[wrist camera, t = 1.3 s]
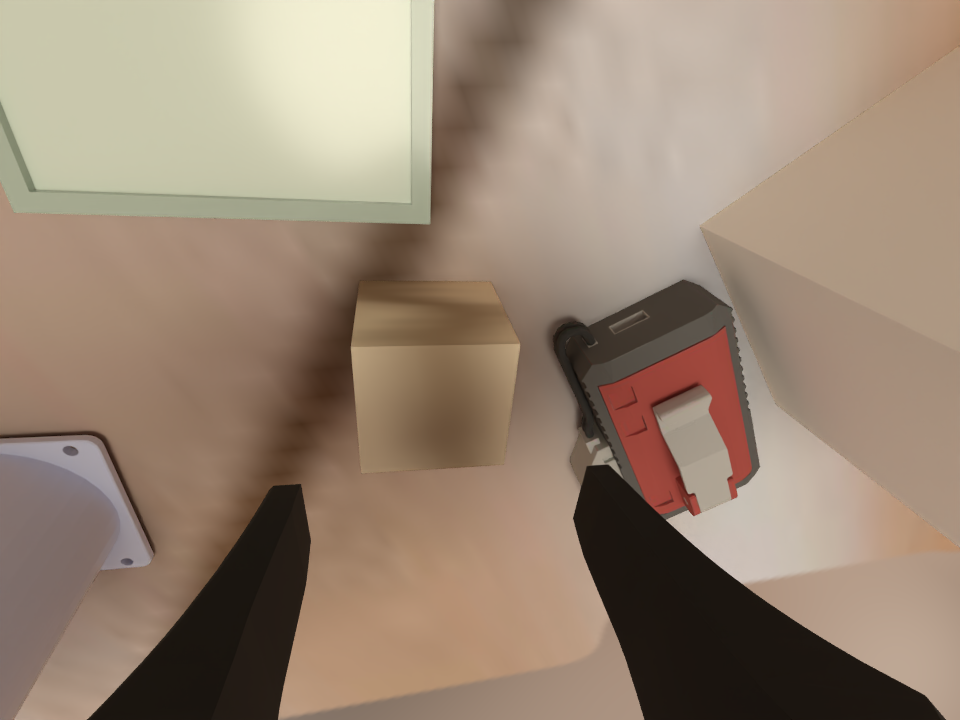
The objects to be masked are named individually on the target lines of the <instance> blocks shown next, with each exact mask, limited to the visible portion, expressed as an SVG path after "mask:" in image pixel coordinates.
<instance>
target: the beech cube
mask: <svg viewBox="0 0 960 720" xmlns="http://www.w3.org/2000/svg"><path fill="white" fill-rule="evenodd" d="M519 351H520V342H519V340H518V338H517V336H516V334H515V331H514V329H513V327H512V325H511V323H510V321H509V319H508V317H507V315H506V312H505V310H504V308H503V306H502V304H501V302H500V300H499V298H498V296H497V294H496V291H495V289H494V287H493V285H492V283H491V282H461V281H360V282H359V289H358V297H357V304H356V312H355V319H354V327H353V334H352V342H351V355H352V368H353V380H354V393H355V405H356V418H357V430H358V443H359V455H360V468H361V474H367V473H382V472H397V471H413V470H428V469H444V468H459V467H475V466H490V465H504V460H505V453H506V446H507V438H508V431H509V424H510V417H511V409H512V402H513V395H514V388H515V380H516V373H517V366H518V358H519Z"/></svg>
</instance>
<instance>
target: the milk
mask: <svg viewBox="0 0 960 720" xmlns="http://www.w3.org/2000/svg"><path fill="white" fill-rule="evenodd" d="M700 228H701V231H702V233H703V235H704V238H705V240H706V242H707V245H708V247H709V249H710V252H711V254H712V256H713V259H714V261H715V263H716V266H717V268H718V270H719V273H720V275H721V277H722V280H723V282H724V284H725V287H726V289H727V291H728V294H729V296H730V298H731V301H732V303H733V305H734V308H735V310H736V313H737V315H738V317H739V320H740V322H741V324H742V327H743V329H744V331H745V334H746V336H747V338H748V341H749V343H750V345H751V348H752V350H753V352H754V355H755V357H756V359H757V362H758V364H759V366H760V369H761V371H762V373H763V376H764V378H765V380H766V383H767V385H768V387H769V390H770V392H771V394H772V397H773V399H774V401H775V404H776V405H777V406H778V407H780V408H781V409H782V410H784V411H785V412H786V413H787V414H789V415H790V416H791V417H793V418H794V419H795V420H796V421H798V422H799V423H800V424H802V425H803V426H804V427H805V428H807V429H808V430H809V431H810V432H812V433H813V434H814V435H816V436H817V437H818V438H819V439H821V440H822V441H823V442H825V443H826V444H827V445H828V446H830V447H831V448H832V449H834V450H835V451H836V452H837V453H839V454H840V455H841V456H843V457H844V458H845V459H846V460H848V461H849V462H850V463H852V464H853V465H854V466H855V467H857V468H858V469H859V470H861V471H862V472H863V473H864V474H866V475H867V476H868V477H870V478H871V479H872V480H873V481H875V482H876V483H877V484H878V485H880V486H881V487H882V488H884V489H885V490H886V491H887V492H889V493H890V494H891V495H893V496H894V497H895V498H896V499H898V500H899V501H900V502H902V503H903V504H904V505H905V506H907V507H908V508H909V509H911V510H912V511H913V512H914V513H916V514H917V515H918V516H920V517H921V518H922V519H923V520H925V521H926V522H927V523H929V524H930V525H931V526H932V527H934V528H935V529H936V530H937V531H939V532H940V533H941V534H943V535H944V536H945V537H946V538H948V539H949V540H950V541H952V542H953V543H954V544H955V545H957V546H958V547H959V548H960V46H958V47H957V48H955V49H954V50H952V51H951V52H950V53H948V54H947V55H945V56H944V57H942V58H941V59H939V60H938V61H937V62H935V63H934V64H932V65H931V66H929V67H928V68H926V69H925V70H924V71H922V72H921V73H919V74H918V75H916V76H915V77H913V78H912V79H911V80H909V81H908V82H906V83H905V84H903V85H902V86H901V87H899V88H898V89H896V90H895V91H893V92H892V93H890V94H889V95H888V96H886V97H885V98H883V99H882V100H880V101H879V102H877V103H876V104H875V105H873V106H872V107H870V108H869V109H867V110H866V111H864V112H863V113H862V114H860V115H859V116H857V117H856V118H854V119H853V120H852V121H850V122H849V123H847V124H846V125H844V126H843V127H841V128H840V129H839V130H837V131H836V132H834V133H833V134H831V135H830V136H828V137H827V138H826V139H824V140H823V141H821V142H820V143H818V144H817V145H815V146H814V147H813V148H811V149H810V150H808V151H807V152H805V153H804V154H803V155H801V156H800V157H798V158H797V159H795V160H794V161H792V162H791V163H790V164H788V165H787V166H785V167H784V168H782V169H781V170H779V171H778V172H777V173H775V174H774V175H772V176H771V177H769V178H768V179H766V180H765V181H764V182H762V183H761V184H759V185H758V186H756V187H755V188H754V189H752V190H751V191H749V192H748V193H746V194H745V195H743V196H742V197H741V198H739V199H738V200H736V201H735V202H733V203H732V204H730V205H729V206H728V207H726V208H725V209H723V210H722V211H720V212H719V213H717V214H716V215H715V216H713V217H712V218H710V219H709V220H707V221H706V222H705V223H703V224H702V225H700Z"/></svg>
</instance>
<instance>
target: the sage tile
mask: <svg viewBox="0 0 960 720" xmlns="http://www.w3.org/2000/svg"><path fill="white" fill-rule="evenodd" d="M433 35H434V0H0V182H1V184H2V186H3V188H4V191H5V193H6V195H7V198H8V200H9V202H10V204H11V207H12V209H13V211H14V213H46V214H82V215H117V216H153V217H189V218H224V219H260V220H296V221H332V222H367V223H403V224H430V204H431V148H432V91H433Z"/></svg>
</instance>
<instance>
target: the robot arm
mask: <svg viewBox="0 0 960 720" xmlns="http://www.w3.org/2000/svg"><path fill="white" fill-rule="evenodd" d="M70 446H72V447H75V448H76V449H74V448H72V447H70ZM573 520H574V523H575V527H576V531H577V535H578V538H579V542H580V545H581V549H582V552H583V555H584V558H585V560H586V563H587V565H588V568H589V570H590V573H591V575H592V578H593V580H594V583H595V585H596V587H597V590H598V592H599V595H600V597H601V599H602V602H603V604H604V606H605V609H606V611H607V614H608V616H609V618H610V621H611V623H612V625H613V628H614V630H615V633H616V635H617V637H618V640H619V642H620V645H621V648H622V651H623V653H624V656H625V659H626V661H627V664H628V668H629V671H630V674H631V677H632V681H633V684H634V687H635V690H636V693H637V696H638V700H639V702H640V706H641V710H642V713H643V716H644V720H946V719H945V718H944V717H943V716H942V715H941V713H940V712H939V711H938V710H937V709H936V708H935V706H934V705H933V704H932V703H931V702H930V701H929V699H928V698H927V697H926V696H925V695H923V694H921V693H919V692H918V691H916V690H914V689H912V688H910V687H908V686H906V685H904V684H903V683H901V682H899V681H897V680H895V679H893V678H891V677H889V676H887V675H886V674H884V673H882V672H880V671H878V670H876V669H875V668H873V667H871V666H869V665H867V664H865V663H863V662H861V661H860V660H858V659H856V658H855V657H853V656H851V655H850V654H848V653H846V652H845V651H843V650H841V649H839V648H838V647H836V646H834V645H832V644H831V643H829V642H827V641H826V640H824V639H823V638H821V637H819V636H818V635H816V634H815V633H813V632H811V631H810V630H808V629H807V628H805V627H803V626H802V625H800V624H799V623H797V622H796V621H794V620H793V619H791V618H790V617H788V616H787V615H785V614H784V613H782V612H781V611H779V610H778V609H776V608H775V607H773V606H772V605H770V604H769V603H767V602H766V601H765V600H763V599H762V598H760V597H759V596H758V595H756V594H755V593H753V592H752V591H751V590H749V589H748V588H747V587H745V586H744V585H743V584H741V583H740V582H739V581H737V580H736V579H735V578H733V577H732V576H731V575H729V574H728V573H727V572H725V571H724V570H723V569H722V568H720V567H719V566H718V565H717V564H715V563H714V562H713V561H712V560H711V559H709V558H708V557H707V556H706V555H705V554H703V553H702V552H701V551H700V550H699V549H698V548H696V547H695V546H694V545H693V544H692V543H691V542H689V541H688V540H687V539H686V538H685V537H684V536H683V535H682V534H680V533H679V532H678V531H677V530H676V529H675V528H674V527H673V526H672V525H670V524H669V523H668V522H667V521H666V520H665V519H664V518H663V517H662V516H661V515H660V514H659V513H658V512H657V511H656V510H655V509H654V508H652V507H651V506H650V505H649V504H648V503H647V502H646V501H645V500H644V499H643V498H642V497H641V496H640V495H639V494H638V493H637V492H636V491H635V490H634V489H633V488H632V487H631V486H630V485H629V484H628V483H627V482H626V481H625V480H624V479H623V478H622V477H621V476H620V475H619V474H618V473H617V472H616V471H615V470H614V469H613V468H612V467H611V466H610V465H609V464H606V465H591V466H587V467H586V471H585V475H584V479H583V482H582V486H581V490H580V494H579V498H578V501H577V505H576V509H575V513H574V517H573ZM310 544H311V538H310V533H309V527H308V522H307V516H306V510H305V505H304V499H303V493H302V488H301V484H296V485H280V486H273V487H272V488H271V489H270V490H269V491H268V493H267V495H266V497H265V498H264V500H263V502H262V503H261V505H260V507H259V508H258V510H257V512H256V513H255V515H254V516H253V518H252V519H251V521H250V523H249V524H248V526H247V527H246V529H245V530H244V532H243V533H242V535H241V536H240V538H239V539H238V541H237V542H236V544H235V545H234V547H233V548H232V549H231V551H230V552H229V554H228V555H227V557H226V558H225V559H224V561H223V562H222V564H221V565H220V567H219V568H218V569H217V571H216V572H215V573H214V575H213V576H212V577H211V579H210V580H209V581H208V583H207V584H206V585H205V587H204V588H203V589H202V590H201V592H200V593H199V594H198V596H197V597H196V598H195V600H194V601H193V602H192V603H191V605H190V606H189V607H188V609H187V610H186V611H185V612H184V614H183V615H182V616H181V617H180V619H179V620H178V621H177V622H176V623H175V625H174V626H173V627H172V628H171V629H170V631H169V632H168V633H167V634H166V635H165V636H164V638H163V639H162V640H161V641H160V642H159V643H158V645H157V646H156V647H155V648H154V649H153V650H152V651H151V653H150V654H149V655H148V656H147V657H146V658H145V659H144V660H143V662H142V663H141V664H140V665H139V666H138V667H137V668H136V669H135V670H134V671H133V672H132V673H131V674H130V676H129V677H128V678H127V679H126V680H125V681H124V682H123V683H122V684H121V685H120V686H119V687H118V688H117V689H116V691H115V692H114V693H113V694H112V695H111V696H110V697H109V698H108V699H107V700H106V701H105V702H104V703H103V704H102V705H101V706H100V707H99V708H98V709H97V710H96V711H95V712H94V713H93V714H92V715H91V716H90V717H89V718H88V719H87V720H278V715H279V708H280V702H281V697H282V691H283V686H284V681H285V677H286V672H287V668H288V663H289V659H290V654H291V650H292V645H293V641H294V636H295V632H296V628H297V623H298V619H299V614H300V609H301V605H302V600H303V596H304V591H305V586H306V580H307V572H308V563H309V553H310ZM153 556H154V554H153V551H152V549H151V547H150V545H149V542H148V540H147V538H146V536H145V534H144V531H143V529H142V527H141V525H140V523H139V520H138V518H137V516H136V514H135V512H134V510H133V507H132V505H131V503H130V501H129V499H128V496H127V494H126V492H125V490H124V488H123V485H122V483H121V481H120V479H119V477H118V474H117V472H116V470H115V468H114V466H113V463H112V461H111V459H110V457H109V455H108V452H107V450H106V448H105V446H104V444H103V442H102V441H101V440H100V439H98V438H97V437H95V436H92V435H71V436H49V437H27V438H5V439H0V720H14V718H15V717H16V715H17V713H18V711H19V710H20V708H21V706H22V704H23V703H24V701H25V699H26V697H27V696H28V694H29V692H30V691H31V689H32V687H33V685H34V684H35V682H36V680H37V678H38V677H39V675H40V673H41V671H42V670H43V668H44V666H45V664H46V663H47V661H48V659H49V658H50V656H51V654H52V652H53V651H54V649H55V647H56V645H57V644H58V642H59V640H60V638H61V637H62V635H63V633H64V631H65V630H66V628H67V626H68V624H69V623H70V621H71V619H72V618H73V616H74V614H75V612H76V611H77V609H78V607H79V605H80V604H81V602H82V600H83V598H84V597H85V595H86V593H87V591H88V590H89V588H90V586H91V584H92V583H93V581H94V579H95V578H96V576H97V574H98V572H99V571H100V570H110V569H121V568H132V567H142V566H146V565H148V564H150V562H151V561H152V558H153Z"/></svg>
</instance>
